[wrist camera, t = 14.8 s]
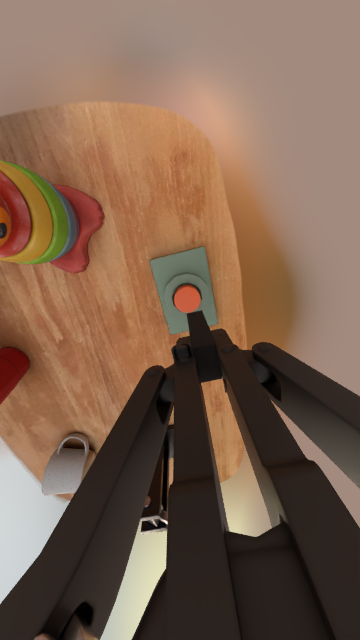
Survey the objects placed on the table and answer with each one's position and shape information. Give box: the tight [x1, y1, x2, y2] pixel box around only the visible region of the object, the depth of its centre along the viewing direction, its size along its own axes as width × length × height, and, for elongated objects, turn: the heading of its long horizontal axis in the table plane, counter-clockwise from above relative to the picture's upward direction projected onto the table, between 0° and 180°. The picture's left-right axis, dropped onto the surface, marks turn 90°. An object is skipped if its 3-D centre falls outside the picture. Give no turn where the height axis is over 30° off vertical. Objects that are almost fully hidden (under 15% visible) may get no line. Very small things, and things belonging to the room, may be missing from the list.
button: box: [174, 285, 201, 313], centre depth 26 cm, size 4×4×2 cm
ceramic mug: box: [42, 433, 96, 495], centre depth 39 cm, size 11×8×8 cm
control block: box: [149, 246, 218, 335], centre depth 28 cm, size 12×8×4 cm, turn 13°
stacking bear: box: [0, 161, 104, 273], centre depth 18 cm, size 11×10×18 cm
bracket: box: [140, 424, 174, 535], centre depth 37 cm, size 11×9×14 cm
